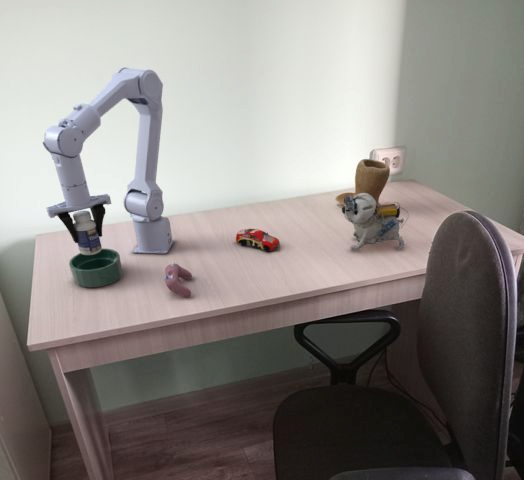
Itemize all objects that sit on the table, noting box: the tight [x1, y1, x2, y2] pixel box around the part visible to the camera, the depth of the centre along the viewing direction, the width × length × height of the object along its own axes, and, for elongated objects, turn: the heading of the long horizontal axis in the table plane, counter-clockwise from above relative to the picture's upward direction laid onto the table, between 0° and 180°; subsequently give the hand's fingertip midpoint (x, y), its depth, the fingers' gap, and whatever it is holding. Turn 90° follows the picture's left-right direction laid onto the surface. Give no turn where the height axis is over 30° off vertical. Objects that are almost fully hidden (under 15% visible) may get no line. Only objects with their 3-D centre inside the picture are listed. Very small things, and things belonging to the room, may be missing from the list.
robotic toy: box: [341, 193, 410, 251], centre depth 131 cm, size 13×17×15 cm
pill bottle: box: [72, 210, 103, 255], centre depth 120 cm, size 5×5×10 cm
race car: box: [235, 228, 281, 253], centre depth 137 cm, size 13×5×4 cm, turn 57°
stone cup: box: [335, 158, 391, 213], centre depth 152 cm, size 15×12×15 cm
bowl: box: [68, 247, 124, 288], centre depth 125 cm, size 12×12×5 cm
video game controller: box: [164, 262, 193, 298], centre depth 119 cm, size 10×5×7 cm, turn 5°
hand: (88, 238), depth 121 cm, fingers closed on pill bottle, 5 cm apart
